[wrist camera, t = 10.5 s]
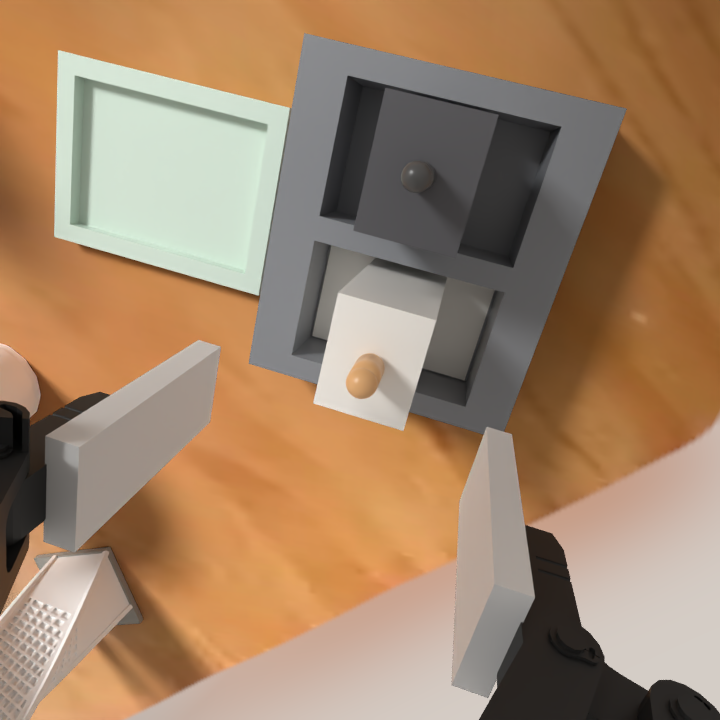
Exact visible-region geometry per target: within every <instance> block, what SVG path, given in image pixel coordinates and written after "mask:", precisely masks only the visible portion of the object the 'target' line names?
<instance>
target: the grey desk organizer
mask: <svg viewBox="0 0 720 720" xmlns="http://www.w3.org/2000/svg"><path fill="white" fill-rule="evenodd" d="M626 110H627V109H626V108H621V107H617V106H613V105H609V104H604V103H600V102H596V101H591V100H587V99H583V98H579V97H574V96H570V95H566V94H562V93H557V92H553V91H549V90H544V89H540V88H536V87H532V86H527V85H523V84H519V83H515V82H510V81H506V80H502V79H497V78H493V77H489V76H485V75H480V74H476V73H472V72H468V71H463V70H459V69H455V68H450V67H446V66H442V65H438V64H433V63H429V62H425V61H421V60H416V59H412V58H408V57H403V56H399V55H395V54H391V53H386V52H382V51H378V50H374V49H369V48H365V47H361V46H356V45H352V44H348V43H344V42H339V41H335V40H331V39H327V38H322V37H318V36H314V35H309V34H305V33H304V39H303V45H302V51H301V57H300V63H299V69H298V75H297V81H296V86H295V92H294V98H293V104H292V110H291V116H290V122H289V128H288V134H287V140H286V146H285V152H284V157H283V163H282V169H281V175H280V181H279V187H278V193H277V199H276V205H275V211H274V217H273V223H272V228H271V234H270V240H269V246H268V252H267V258H266V264H265V270H264V276H263V282H262V288H261V294H260V299H259V305H258V311H257V317H256V323H255V329H254V335H253V341H252V347H251V353H250V359H249V364H252V365H255V366H259V367H262V368H265V369H268V370H272V371H275V372H278V373H282V374H285V375H288V376H292V377H295V378H298V379H302V380H305V381H308V382H312V383H315V384H318V380H319V376H320V371H321V367H322V362H323V358H324V353H325V349H326V344H327V340H328V335H329V331H330V326H331V322H332V318H333V313H334V309H335V304H336V300H337V295H338V292H339V291H340V290H341V289H343V288H344V287H345V286H346V285H347V284H348V283H349V282H350V281H351V280H352V279H353V278H354V277H356V276H357V275H358V274H359V273H360V272H361V271H362V270H363V269H364V268H365V267H366V266H368V265H369V264H370V263H371V262H372V261H373V260H374V259H375V258H380V259H383V260H387V261H391V262H394V263H398V264H401V265H405V266H409V267H412V268H416V269H420V270H423V271H427V272H431V273H434V274H438V275H442V276H445V277H447V280H446V284H445V288H444V292H443V296H442V300H441V304H440V308H439V312H438V316H437V320H436V323H435V327H434V330H433V333H432V337H431V340H430V343H429V347H428V350H427V353H426V357H425V360H424V363H423V367H422V370H421V373H420V377H419V380H418V383H417V387H416V390H415V393H414V397H413V400H412V403H411V407H410V410H409V412H411V413H414V414H417V415H421V416H424V417H427V418H431V419H434V420H437V421H441V422H444V423H447V424H451V425H454V426H457V427H460V428H464V429H467V430H470V431H474V432H477V433H480V434H484V433H485V430H486V427H490V428H493V429H496V430H500V431H503V432H504V430H505V428H506V425H507V423H508V420H509V417H510V415H511V412H512V409H513V407H514V404H515V402H516V399H517V396H518V394H519V391H520V388H521V386H522V383H523V380H524V378H525V375H526V373H527V370H528V367H529V365H530V362H531V359H532V357H533V354H534V352H535V349H536V346H537V344H538V341H539V338H540V336H541V333H542V331H543V328H544V325H545V323H546V320H547V317H548V315H549V312H550V309H551V307H552V304H553V302H554V299H555V296H556V294H557V291H558V288H559V286H560V283H561V281H562V278H563V275H564V273H565V270H566V267H567V265H568V262H569V260H570V257H571V254H572V252H573V249H574V246H575V244H576V241H577V238H578V236H579V233H580V231H581V228H582V225H583V223H584V220H585V217H586V215H587V212H588V210H589V207H590V204H591V202H592V199H593V196H594V194H595V191H596V189H597V186H598V183H599V181H600V178H601V175H602V173H603V170H604V167H605V165H606V162H607V160H608V157H609V154H610V152H611V149H612V146H613V144H614V141H615V139H616V136H617V133H618V131H619V128H620V125H621V123H622V120H623V118H624V115H625V112H626Z"/></svg>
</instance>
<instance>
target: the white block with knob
mask: <svg viewBox="0 0 720 720" xmlns="http://www.w3.org/2000/svg"><path fill="white" fill-rule="evenodd" d="M446 280H447V277H445V276H442V275H438V274H434V273H431V272H427V271H423V270H420V269H416V268H412V267H409V266H405V265H401V264H398V263H394V262H391V261H387V260H383V259H380V258H375V259H374V260H373V261H372V262H371V263H370V264H369V265H368V266H366V267H365V268H364V269H363V270H362V271H361V272H360V273H359V274H358V275H357V276H356V277H354V278H353V279H352V280H351V281H350V282H349V283H348V284H347V285H346V286H345V287H344V288H343V289H341V290H340V291H339V292H338V295H337V300H336V304H335V309H334V313H333V318H332V322H331V326H330V331H329V335H328V340H327V344H326V349H325V353H324V358H323V362H322V367H321V371H320V376H319V380H318V384H317V389H316V393H315V398H314V402H313V403H314V404H317V405H320V406H324V407H327V408H330V409H333V410H337V411H340V412H343V413H346V414H350V415H353V416H356V417H360V418H363V419H366V420H369V421H373V422H376V423H379V424H382V425H386V426H389V427H392V428H395V429H399V430H402V431H403V430H404V427H405V423H406V420H407V417H408V413H409V410H410V407H411V403H412V400H413V397H414V393H415V390H416V387H417V383H418V380H419V377H420V373H421V370H422V367H423V363H424V360H425V357H426V353H427V350H428V347H429V343H430V340H431V337H432V333H433V330H434V327H435V323H436V320H437V316H438V312H439V308H440V304H441V300H442V296H443V292H444V288H445V284H446Z"/></svg>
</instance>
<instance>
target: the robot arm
mask: <svg viewBox="0 0 720 720" xmlns="http://www.w3.org/2000/svg"><path fill="white" fill-rule="evenodd" d="M220 350H221V347H220V346H217V345H213V344H210V343H207V342H203V341H200V340H198V341H196V342H195V343H193V344H191V345H190V346H188V347H187V348H185V349H183V350H182V351H180V352H179V353H177V354H175V355H174V356H172V357H171V358H169V359H167V360H166V361H164V362H163V363H161V364H159V365H158V366H156V367H155V368H153V369H151V370H150V371H148V372H147V373H145V374H143V375H142V376H140V377H139V378H137V379H135V380H134V381H132V382H131V383H129V384H127V385H126V386H124V387H123V388H121V389H120V390H118V391H116V392H115V393H113V394H112V395H108V394H105V393H102V392H97V393H94V394H90V395H86V396H82V397H79V398H78V399H76V400H74V401H73V402H71V403H69V404H67V405H66V406H65V408H61V409H59V410H57V411H55V412H54V413H53V415H49V416H47V417H45V418H43V419H42V420H40V421H38V422H37V423H35V424H33V425H31V426H30V412H29V411H28V410H27V409H26V407H24V406H22V405H20V404H17V403H14V402H8V401H0V614H1V611H2V609H3V607H4V604H5V602H6V600H7V597H8V595H9V593H10V590H11V588H12V586H13V583H14V581H15V579H16V576H17V574H18V572H19V569H20V567H21V565H22V562H23V560H24V558H25V555H26V553H27V551H28V548H29V533H30V532H31V531H32V530H33V529H34V528H36V527H37V526H38V525H39V524H41V523H42V522H43V521H44V542H46V543H49V544H52V545H54V546H57V547H60V548H63V549H66V550H69V551H71V552H74V553H75V552H76V551H77V550H78V549H79V548H80V547H81V546H82V545H83V544H84V543H85V542H86V541H87V540H88V539H89V538H90V537H91V536H92V535H93V534H94V533H96V532H97V531H98V530H99V529H100V528H101V527H102V526H103V525H104V524H105V523H106V522H107V521H108V520H109V519H110V518H111V517H112V516H113V515H114V514H115V513H116V512H117V511H118V510H119V509H120V508H121V507H122V506H123V505H125V504H126V503H127V502H128V501H129V500H130V499H131V498H132V497H133V496H134V495H135V494H136V493H137V492H138V491H139V490H140V489H141V488H142V487H143V486H144V485H145V484H146V483H147V482H148V481H149V480H150V479H151V478H153V477H154V476H155V475H156V474H157V473H158V472H159V471H160V470H161V469H162V468H163V467H164V466H165V465H166V464H167V463H168V462H169V461H170V460H171V459H172V458H173V457H174V456H175V455H176V454H177V453H178V452H179V451H181V450H182V449H183V448H184V447H185V446H186V445H187V444H188V443H189V442H190V441H191V440H192V439H193V438H194V437H195V436H196V435H197V434H198V433H199V432H200V431H201V430H202V429H203V428H204V427H205V426H206V425H207V424H209V423H210V418H211V412H212V405H213V398H214V391H215V384H216V377H217V371H218V364H219V357H220ZM496 680H497V689H496V691H495V693H494V694H493V696H492V698H491V700H490V701H489V703H488V705H487V707H486V708H485V710H484V712H483V714H482V715H481V717H480V719H479V720H720V713H719V712H718V711H717V709H716V708H715V707H714V706H713V705H712V704H711V703H710V702H708V701H707V700H706V699H705V698H704V697H703V696H702V695H701V694H699V693H697V692H696V691H694V690H692V689H691V688H689V687H687V686H686V685H684V684H681V683H678V682H675V681H672V680H659V681H657V682H656V683H655V684H653V685H652V686H651V688H650V689H649V691H648V690H646V689H644V688H642V687H641V686H639V685H637V684H636V683H634V682H632V681H631V680H629V679H627V678H626V677H624V676H622V675H621V674H619V673H618V672H616V671H615V670H613V669H612V668H610V667H609V666H608V665H607V664H606V663H605V662H604V655H603V652H602V650H601V648H600V645H599V644H598V643H597V641H596V640H595V639H594V638H593V636H592V635H591V634H590V633H589V632H588V631H586V630H585V629H584V628H583V627H582V626H581V622H580V618H579V614H578V609H577V605H576V601H575V596H574V592H573V588H572V584H571V582H570V576H569V571H568V569H567V562H566V558H565V554H564V550H563V549H562V547H561V546H560V544H559V543H558V541H557V540H556V539H555V537H554V536H553V534H551V533H548V532H545V531H542V530H539V529H536V528H533V527H530V526H526V525H525V523H524V516H523V509H522V502H521V495H520V488H519V481H518V474H517V467H516V460H515V453H514V446H513V438H512V434H510V433H506V432H503V431H500V430H496V429H493V428H490V427H486V430H485V433H484V435H483V438H482V441H481V444H480V446H479V449H478V452H477V455H476V457H475V460H474V463H473V466H472V468H471V471H470V474H469V476H468V479H467V482H466V485H465V487H464V490H463V493H462V496H461V498H460V502H459V525H458V548H457V571H456V594H455V618H454V641H453V665H452V685H453V686H455V687H459V688H461V689H464V690H467V691H470V692H472V693H476V694H478V695H481V696H484V697H487V698H488V697H489V695H490V693H491V691H492V688H493V686H494V684H495V682H496Z"/></svg>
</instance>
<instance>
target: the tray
mask: <svg viewBox="0 0 720 720" xmlns="http://www.w3.org/2000/svg"><path fill="white" fill-rule="evenodd" d="M291 110H292V109H291V108H288V107H284V106H280V105H276V104H272V103H268V102H264V101H260V100H256V99H252V98H248V97H244V96H240V95H236V94H232V93H228V92H224V91H220V90H216V89H212V88H208V87H204V86H200V85H196V84H192V83H188V82H184V81H180V80H176V79H172V78H168V77H164V76H160V75H156V74H152V73H148V72H144V71H140V70H136V69H131V68H127V67H123V66H119V65H115V64H111V63H107V62H103V61H99V60H95V59H91V58H87V57H83V56H79V55H75V54H71V53H67V52H63V51H59V50H58V82H57V130H56V178H55V225H54V237H57V238H60V239H64V240H67V241H71V242H74V243H78V244H81V245H85V246H88V247H91V248H95V249H98V250H102V251H105V252H109V253H112V254H116V255H119V256H123V257H126V258H130V259H133V260H137V261H140V262H144V263H147V264H150V265H154V266H157V267H161V268H164V269H168V270H171V271H175V272H178V273H182V274H185V275H189V276H192V277H196V278H199V279H203V280H206V281H209V282H213V283H216V284H220V285H223V286H227V287H230V288H234V289H237V290H241V291H244V292H248V293H251V294H255V295H258V296H259V295H260V294H261V288H262V282H263V276H264V270H265V264H266V258H267V252H268V246H269V240H270V234H271V228H272V223H273V217H274V211H275V205H276V199H277V193H278V187H279V181H280V175H281V169H282V163H283V157H284V152H285V146H286V140H287V134H288V128H289V122H290V116H291Z"/></svg>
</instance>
